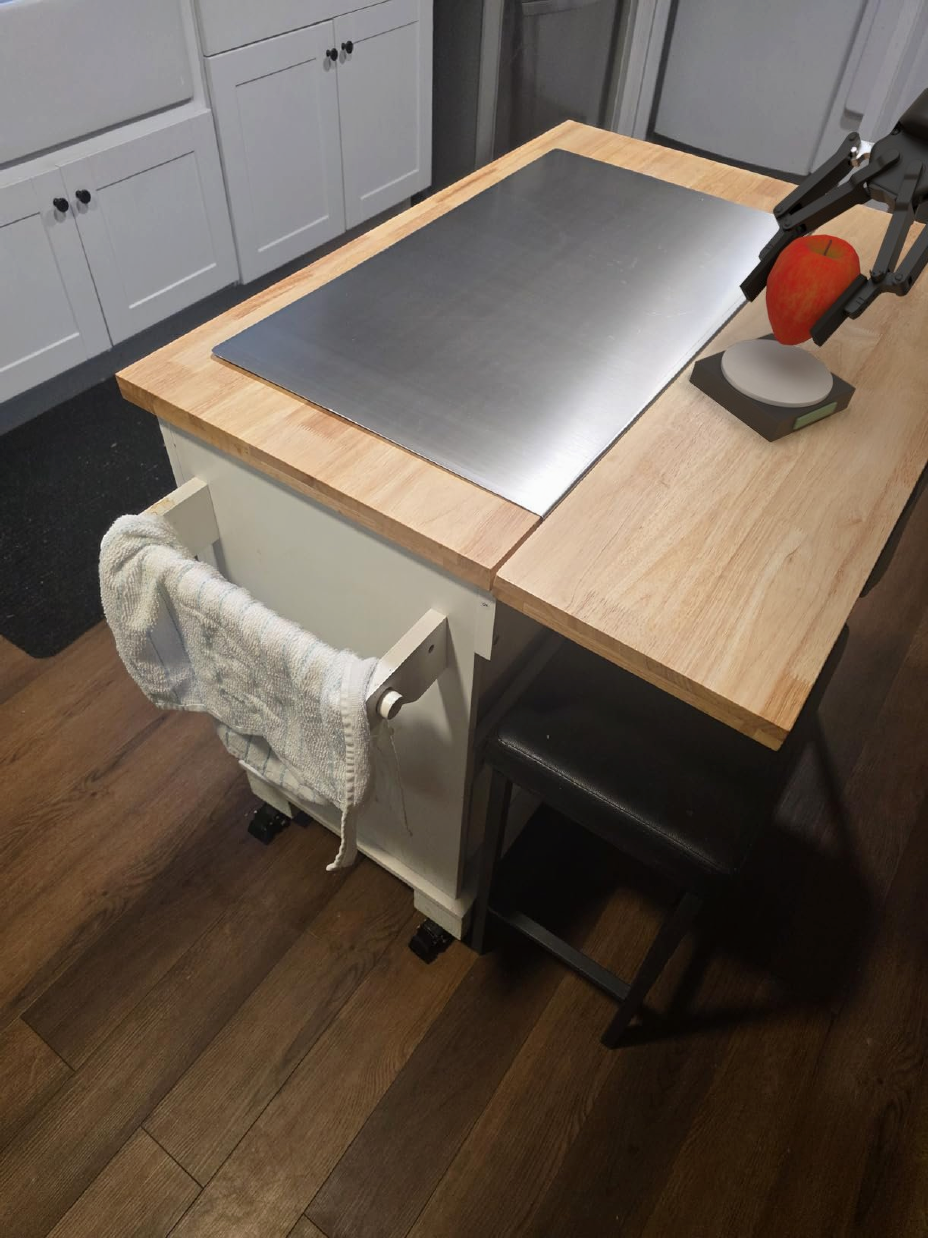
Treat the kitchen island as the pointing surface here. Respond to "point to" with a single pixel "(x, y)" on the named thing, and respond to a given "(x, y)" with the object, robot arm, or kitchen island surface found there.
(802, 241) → the apple
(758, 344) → the kitchen scale
